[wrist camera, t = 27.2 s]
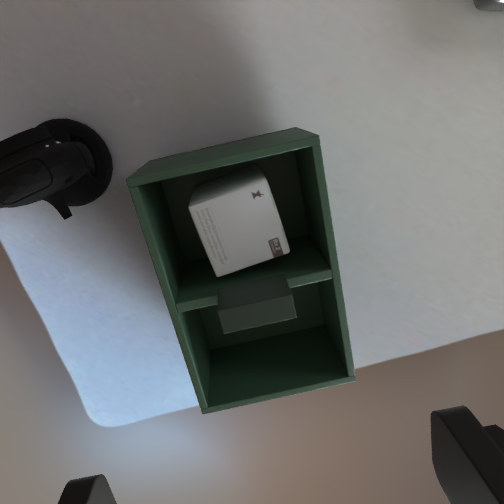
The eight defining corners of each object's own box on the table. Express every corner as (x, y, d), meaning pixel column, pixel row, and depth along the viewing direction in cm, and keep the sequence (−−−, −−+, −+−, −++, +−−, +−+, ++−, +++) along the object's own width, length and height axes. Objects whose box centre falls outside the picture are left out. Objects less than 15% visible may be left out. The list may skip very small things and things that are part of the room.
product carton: (192, 185, 36) (184, 206, 29) (258, 161, 35) (266, 176, 28) (217, 247, 38) (216, 279, 31) (279, 225, 37) (292, 253, 31)
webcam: (86, 102, 35) (34, 102, 25) (130, 182, 37) (99, 210, 28) (6, 141, 35) (-73, 155, 26) (55, 217, 38) (0, 255, 28)
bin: (329, 325, 42) (370, 411, 30) (206, 352, 42) (200, 448, 31) (296, 126, 35) (332, 139, 23) (149, 160, 35) (111, 189, 24)
